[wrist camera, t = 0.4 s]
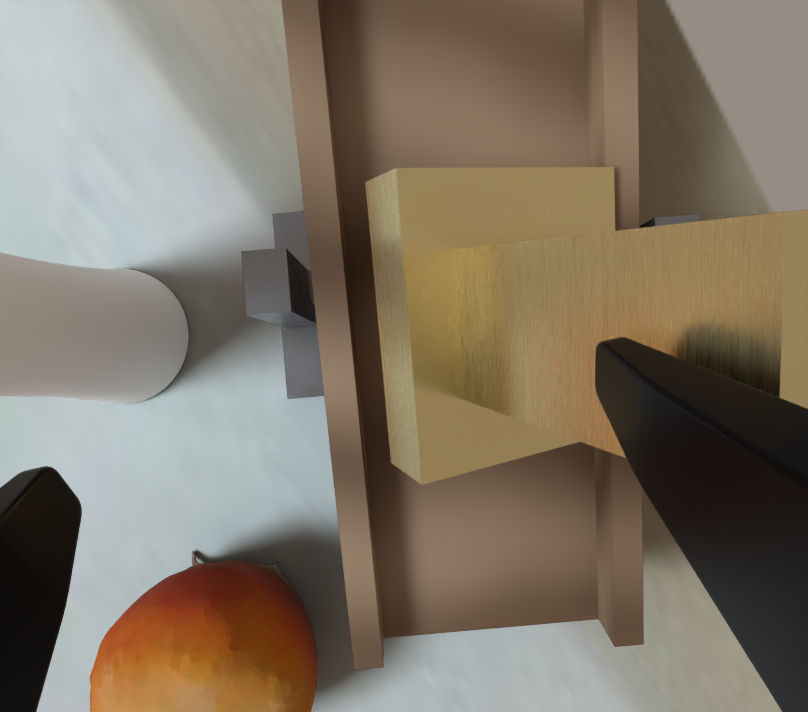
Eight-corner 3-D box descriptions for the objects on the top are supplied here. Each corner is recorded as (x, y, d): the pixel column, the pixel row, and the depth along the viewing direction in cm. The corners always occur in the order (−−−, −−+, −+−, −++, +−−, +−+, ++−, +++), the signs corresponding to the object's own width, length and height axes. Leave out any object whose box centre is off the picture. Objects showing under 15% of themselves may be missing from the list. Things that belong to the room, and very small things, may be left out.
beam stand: (624, 369, 25) (722, 371, 17) (292, 397, 25) (244, 412, 17) (608, 192, 25) (699, 118, 17) (277, 220, 25) (224, 156, 17)
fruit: (315, 497, 23) (287, 695, 16) (335, 614, 27) (319, 813, 20) (123, 508, 23) (12, 711, 16) (172, 624, 27) (100, 826, 20)
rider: (573, 417, 19) (957, 534, 10) (390, 462, 16) (700, 683, 7) (566, 178, 18) (1000, 70, 9) (365, 182, 15) (706, 24, 6)
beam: (605, 570, 23) (655, 643, 19) (352, 593, 23) (342, 670, 19) (589, -117, 19) (649, -233, 15) (279, -93, 19) (244, -202, 14)
